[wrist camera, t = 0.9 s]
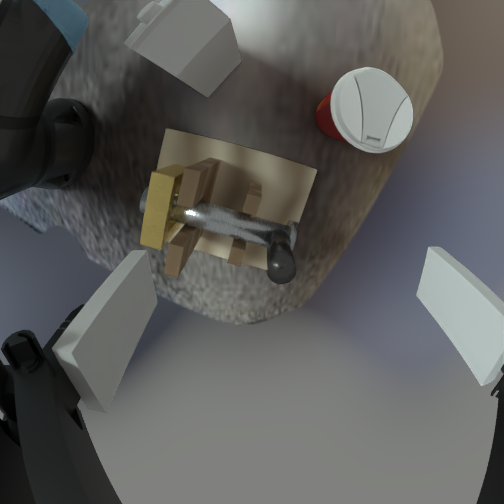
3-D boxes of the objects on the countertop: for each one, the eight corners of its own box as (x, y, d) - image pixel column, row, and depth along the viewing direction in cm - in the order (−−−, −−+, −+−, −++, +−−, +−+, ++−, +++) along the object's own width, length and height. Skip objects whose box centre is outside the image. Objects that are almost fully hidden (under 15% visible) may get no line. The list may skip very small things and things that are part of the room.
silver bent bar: (149, 212, 33) (107, 244, 23) (155, 178, 31) (112, 198, 21) (283, 250, 34) (291, 297, 25) (295, 217, 33) (309, 253, 23)
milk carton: (242, 60, 31) (225, 0, 14) (208, 98, 33) (160, 67, 16) (203, 35, 30) (160, -30, 12) (170, 71, 32) (101, 32, 14)
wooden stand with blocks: (147, 232, 41) (104, 274, 28) (168, 128, 35) (123, 127, 22) (279, 270, 43) (285, 327, 30) (315, 168, 37) (343, 186, 24)
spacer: (162, 221, 36) (140, 243, 29) (175, 163, 33) (151, 171, 26) (180, 226, 37) (160, 250, 29) (193, 167, 33) (174, 177, 26)
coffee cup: (358, 152, 36) (409, 165, 22) (302, 139, 35) (326, 140, 22) (368, 97, 32) (422, 82, 19) (312, 82, 32) (341, 52, 18)
